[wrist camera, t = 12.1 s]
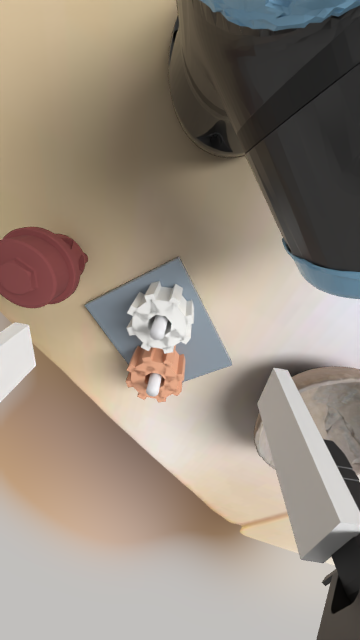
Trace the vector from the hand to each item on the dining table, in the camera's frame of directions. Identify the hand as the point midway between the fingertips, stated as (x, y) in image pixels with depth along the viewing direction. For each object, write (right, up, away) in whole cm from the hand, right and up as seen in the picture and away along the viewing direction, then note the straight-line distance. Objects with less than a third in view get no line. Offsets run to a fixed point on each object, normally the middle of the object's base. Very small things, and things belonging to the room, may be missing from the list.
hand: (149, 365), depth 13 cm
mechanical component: (-16, +13, +25) cm, 32 cm away
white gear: (-1, +4, +26) cm, 26 cm away
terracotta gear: (-2, -5, +31) cm, 32 cm away
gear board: (-1, 0, +30) cm, 30 cm away
